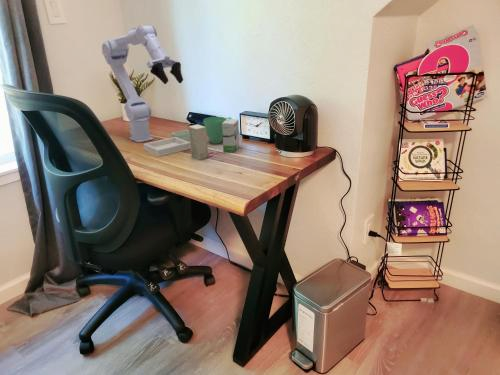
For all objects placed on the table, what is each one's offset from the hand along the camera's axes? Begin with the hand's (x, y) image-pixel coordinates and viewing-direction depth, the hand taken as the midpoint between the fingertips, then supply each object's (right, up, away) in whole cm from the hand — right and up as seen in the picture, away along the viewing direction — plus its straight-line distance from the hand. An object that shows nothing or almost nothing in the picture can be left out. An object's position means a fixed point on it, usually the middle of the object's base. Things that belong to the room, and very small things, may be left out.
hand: (174, 82), depth 149 cm
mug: (+16, -20, +23) cm, 35 cm away
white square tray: (-5, -24, +14) cm, 28 cm away
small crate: (-2, -19, +27) cm, 33 cm away
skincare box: (+9, -28, +4) cm, 30 cm away
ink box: (+21, -25, +12) cm, 35 cm away
